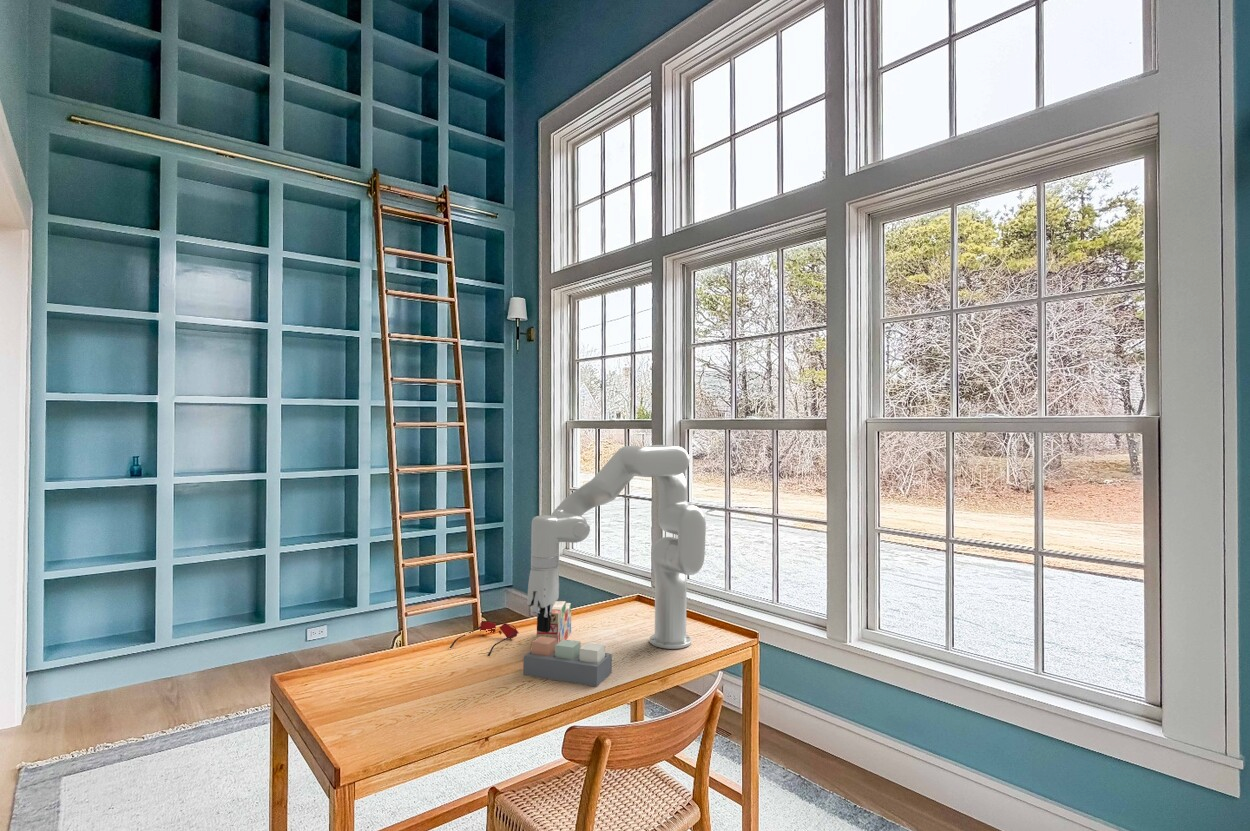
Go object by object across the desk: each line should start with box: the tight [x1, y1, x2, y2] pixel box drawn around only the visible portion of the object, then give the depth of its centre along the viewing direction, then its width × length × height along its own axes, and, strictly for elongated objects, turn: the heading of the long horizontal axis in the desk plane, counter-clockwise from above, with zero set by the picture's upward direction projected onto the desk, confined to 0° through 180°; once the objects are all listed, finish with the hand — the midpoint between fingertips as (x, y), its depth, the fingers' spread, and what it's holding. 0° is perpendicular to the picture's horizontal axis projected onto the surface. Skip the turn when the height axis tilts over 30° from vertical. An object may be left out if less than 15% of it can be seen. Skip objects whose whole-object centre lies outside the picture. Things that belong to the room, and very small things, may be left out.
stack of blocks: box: [536, 600, 572, 644], centre depth 200 cm, size 21×6×12 cm, turn 174°
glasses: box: [449, 620, 519, 657], centre depth 198 cm, size 14×16×5 cm
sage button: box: [555, 639, 582, 660], centre depth 175 cm, size 5×5×5 cm
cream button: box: [580, 642, 606, 663], centre depth 173 cm, size 5×5×5 cm
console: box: [522, 649, 613, 688], centre depth 175 cm, size 10×21×5 cm, turn 69°
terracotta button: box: [531, 636, 557, 656], centre depth 178 cm, size 5×5×5 cm
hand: (543, 630), depth 178 cm, fingers closed
